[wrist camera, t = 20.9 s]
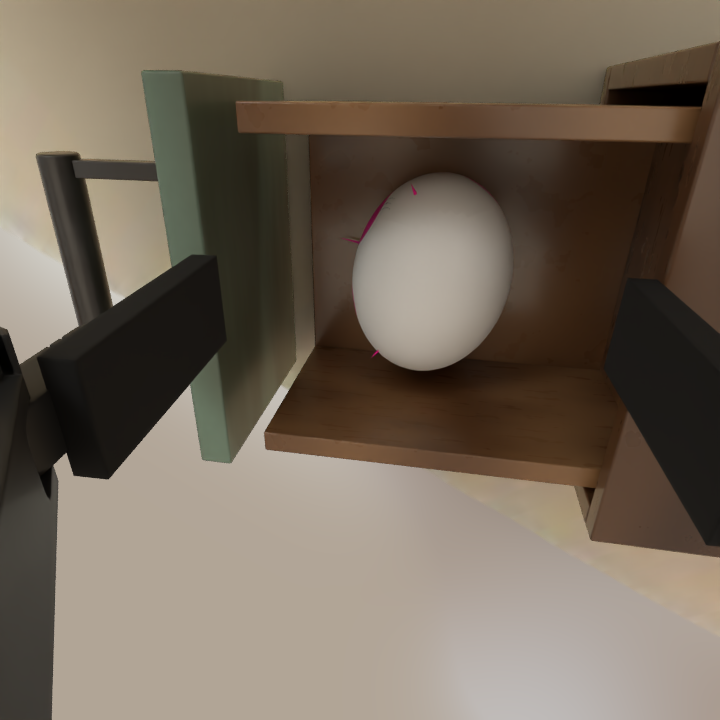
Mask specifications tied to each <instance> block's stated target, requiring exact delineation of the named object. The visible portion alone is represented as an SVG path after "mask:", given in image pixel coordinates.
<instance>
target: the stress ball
mask: <svg viewBox="0 0 720 720" xmlns="http://www.w3.org/2000/svg"><path fill="white" fill-rule="evenodd" d="M342 239H344V238H342ZM345 240H348V241H352V242H355V243H358V244H359V245H358V248H357V252H356V256H355V260H354V266H353V276H352V292H353V301H354V307H355V311H356V315H357V318H358V321H359V323H360V326H361V328H362V330H363V332H364V334H365V336H366V337H367V339H368V340H369V342H370V343H371V345H372V346H373V347H374V348H375V349H376V350H377V351H376V352H375V354H377V353H378V352H379V353H380V354H381V355H382V356H383V357H384V358H386V359H387V360H389V361H390V362H392V363H394V364H396V365H398V366H400V367H404V368H407V369H410V370H418V371H429V370H436V369H440V368H444V367H447V366H449V365H452V364H454V363H456V362H458V361H460V360H461V359H463V358H464V357H466V356H467V355H468V354H470V353H471V352H472V351H473V350H475V349H476V348H477V347H478V346H479V345H480V344H481V343H482V342H483V341H484V339H485V338H486V337H487V336H488V334H489V333H490V332H491V330H492V329H493V327H494V326H495V324H496V323H497V321H498V319H499V317H500V315H501V313H502V311H503V308H504V306H505V303H506V301H507V297H508V294H509V290H510V286H511V281H512V275H513V261H514V255H513V244H512V238H511V233H510V229H509V226H508V223H507V220H506V218H505V215H504V213H503V211H502V209H501V207H500V206H499V204H498V203H497V201H496V200H495V199H494V198H493V196H492V195H491V194H490V193H489V192H488V191H487V190H486V189H485V188H484V187H483V186H481V185H480V184H478V183H477V182H475V181H474V180H472V179H470V178H468V177H465V176H463V175H459V174H455V173H449V172H439V173H430V174H426V175H422V176H419V177H416V178H414V179H412V180H410V181H408V182H406V183H404V184H403V185H401V186H400V187H399V188H397V189H396V190H395V191H393V192H392V193H391V194H390V195H389V196H388V197H387V198H386V199H385V200H384V201H383V202H382V203H381V204H380V206H379V207H378V208H377V210H376V211H375V212H374V214H373V215H372V217H371V219H370V220H369V222H368V224H367V226H366V228H365V230H364V232H363V234H362V236H361V239H360V242H359V241H354V240H349V239H345ZM375 354H374V355H375ZM374 355H373V356H374ZM373 356H372V357H373Z"/></svg>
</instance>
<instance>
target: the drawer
mask: <svg viewBox="0 0 720 720" xmlns="http://www.w3.org/2000/svg"><path fill="white" fill-rule="evenodd" d="M141 75H142V81H143V88H144V94H145V100H146V107H147V113H148V119H149V126H150V132H151V138H152V145H153V151H154V158H155V161H135V160H104V159H81V157H80V154H79V153H77V152H71V151H55V152H42V153H38V154H36V160H37V163H38V167H39V171H40V175H41V179H42V183H43V187H44V191H45V195H46V199H47V203H48V207H49V211H50V215H51V219H52V222H53V226H54V230H55V234H56V238H57V242H58V246H59V250H60V254H61V258H62V262H63V266H64V270H65V274H66V278H67V281H68V285H69V289H70V293H71V297H72V301H73V305H74V309H75V313H76V317H77V320H78V325H79V326H82V325H84V324H87V323H89V322H90V321H92V320H93V319H95V318H96V317H98V316H99V315H101V314H102V313H104V312H105V311H107V310H108V309H110V308H111V307H113V304H112V299H111V295H110V290H109V286H108V281H107V276H106V272H105V267H104V263H103V258H102V253H101V249H100V244H99V240H98V235H97V230H96V226H95V221H94V217H93V212H92V208H91V203H90V198H89V194H88V189H87V185H86V180H85V178H86V179H112V180H138V181H158V183H159V189H160V196H161V202H162V208H163V215H164V221H165V227H166V234H167V240H168V246H169V253H170V259H171V265H172V267H173V266H175V265H176V264H178V263H179V262H181V261H182V260H184V259H185V258H187V257H189V256H190V255H192V254H195V255H213V256H217V262H218V270H219V279H220V287H221V295H222V304H223V312H224V320H225V329H226V337H227V341H226V342H225V344H224V345H223V346H222V347H221V348H220V349H219V351H218V352H217V353H216V354H215V355H214V356H213V358H212V359H211V360H210V361H209V362H208V363H207V365H206V366H205V367H204V368H203V369H202V370H201V372H200V373H199V374H198V375H197V376H196V378H195V379H194V380H193V381H192V382H191V383H190V386H191V393H192V399H193V405H194V412H195V417H196V424H197V431H198V437H199V443H200V450H201V456H202V459H203V460H206V461H214V462H222V463H232V461H233V459H234V458H235V456H236V455H237V453H238V452H239V450H240V449H241V447H242V445H243V444H244V442H245V441H246V439H247V437H248V436H249V434H250V433H251V431H252V429H253V428H254V426H255V425H256V423H257V421H258V420H259V418H260V416H261V415H262V414H263V412H264V410H265V409H266V407H267V406H268V404H269V403H270V401H271V399H272V398H273V396H274V394H275V393H276V391H277V390H278V388H279V387H280V385H281V384H282V382H283V380H284V379H285V377H286V376H287V374H288V373H289V371H290V369H291V368H292V366H293V365H294V363H295V362H296V342H295V322H294V302H293V282H292V262H291V242H290V221H289V201H288V181H287V161H286V141H285V134H296V135H309V159H310V191H311V224H312V256H313V289H314V321H315V347H314V349H313V351H312V352H311V354H310V356H309V357H308V359H307V361H306V362H305V364H304V366H303V368H302V369H301V371H300V373H299V374H298V376H297V378H296V379H295V381H294V383H293V384H292V386H291V388H290V390H289V391H288V393H287V395H286V396H285V398H284V400H283V401H282V403H281V405H280V406H279V408H278V410H277V411H276V413H275V415H274V417H273V418H272V420H271V422H270V424H269V425H268V427H267V429H266V430H265V432H264V436H265V447H266V449H267V450H274V451H283V452H292V453H300V454H309V455H317V456H326V457H334V458H343V459H351V460H359V461H368V462H377V463H385V464H394V465H402V466H410V467H419V468H427V469H436V470H444V471H453V472H461V473H470V474H478V475H487V476H495V477H504V478H513V479H521V480H530V481H538V482H547V483H555V484H564V485H572V486H581V487H589V488H596V485H597V481H598V478H599V474H600V471H601V467H602V463H603V460H604V456H605V453H606V449H607V445H608V442H609V438H610V435H611V431H612V427H613V424H614V420H615V417H616V413H617V409H618V406H619V402H620V399H621V398H620V396H619V395H618V393H617V391H616V389H615V388H614V386H613V384H612V383H611V381H610V379H609V377H608V376H607V374H606V372H605V371H604V369H603V368H604V364H605V361H606V357H607V353H608V349H609V346H610V342H611V338H612V334H613V330H614V327H615V323H616V319H617V315H618V312H619V308H620V304H621V300H622V297H623V293H624V289H625V285H626V281H627V278H638V279H654V276H655V273H656V269H657V265H658V262H659V258H660V255H661V251H662V248H663V244H664V240H665V237H666V233H667V230H668V226H669V222H670V219H671V215H672V212H673V208H674V204H675V201H676V197H677V194H678V190H679V186H680V183H681V179H682V176H683V172H684V168H685V165H686V161H687V158H688V154H689V150H690V147H691V143H692V140H693V136H694V132H695V129H696V125H697V122H698V118H699V114H700V111H701V107H702V106H679V105H603V104H526V103H450V102H373V101H283V83H282V82H281V81H274V80H265V79H255V78H246V77H237V76H228V75H219V74H209V73H200V72H191V71H182V70H143V71H142V72H141ZM439 172H449V173H455V174H459V175H463V176H465V177H468V178H470V179H472V180H474V181H475V182H477V183H478V184H480V185H481V186H483V187H484V188H485V189H486V190H487V191H488V192H489V193H490V194H491V195H492V196H493V198H494V199H495V200H496V201H497V203H498V204H499V206H500V207H501V209H502V211H503V213H504V215H505V218H506V220H507V223H508V226H509V229H510V233H511V238H512V244H513V255H514V261H513V275H512V281H511V286H510V290H509V294H508V297H507V301H506V303H505V306H504V308H503V311H502V313H501V315H500V317H499V319H498V321H497V323H496V324H495V326H494V327H493V329H492V330H491V332H490V333H489V334H488V336H487V337H486V338H485V339H484V341H483V342H482V343H481V344H480V345H479V346H478V347H477V348H476V349H475V350H473V351H472V352H471V353H470V354H468V355H467V356H466V357H464V358H463V359H461V360H460V361H458V362H456V363H454V364H452V365H449V366H447V367H444V368H440V369H436V370H429V371H418V370H410V369H407V368H404V367H400V366H398V365H396V364H394V363H392V362H390V361H389V360H387V359H386V358H384V357H383V356H382V355H381V354H380V353H379V352H378V353H377V354H375V352H376V351H377V350H376V349H375V348H374V347H373V346H372V345H371V343H370V342H369V340H368V339H367V337H366V336H365V334H364V332H363V330H362V328H361V326H360V323H359V321H358V318H357V315H356V311H355V307H354V301H353V292H352V276H353V266H354V260H355V256H356V252H357V248H358V245H359V244H358V243H355V242H352V241H348V240H345V239H349V240H354V241H359V242H360V239H361V236H362V234H363V232H364V230H365V228H366V226H367V224H368V222H369V220H370V219H371V217H372V215H373V214H374V212H375V211H376V210H377V208H378V207H379V206H380V204H381V203H382V202H383V201H384V200H385V199H386V198H387V197H388V196H389V195H390V194H391V193H392V192H393V191H395V190H396V189H397V188H399V187H400V186H401V185H403V184H404V183H406V182H408V181H410V180H412V179H414V178H416V177H419V176H422V175H426V174H430V173H439ZM342 238H344V239H342ZM374 354H375V355H374ZM373 355H374V356H373ZM372 356H373V357H372Z"/></svg>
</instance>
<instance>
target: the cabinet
mask: <svg viewBox="0 0 720 720" xmlns="http://www.w3.org/2000/svg"><path fill="white" fill-rule="evenodd" d="M600 104H603V105H679V106H702V107H701V111H700V114H699V118H698V122H697V125H696V129H695V132H694V136H693V140H692V143H691V147H690V150H689V154H688V158H687V161H686V165H685V168H684V172H683V176H682V179H681V183H680V186H679V190H678V194H677V197H676V201H675V204H674V208H673V212H672V215H671V219H670V222H669V226H668V230H667V233H666V237H665V240H664V244H663V248H662V251H661V255H660V258H659V262H658V265H657V269H656V273H655V276H654V279H657V280H659V281H660V282H661V283H662V284H663V285H665V286H666V287H667V288H668V289H669V290H670V291H671V292H673V293H674V294H675V295H676V296H677V297H678V298H679V299H681V300H682V301H683V302H684V303H685V304H686V305H687V306H689V307H690V308H691V309H692V310H693V311H694V312H695V313H697V314H698V315H699V316H700V317H701V318H702V319H703V320H705V321H706V322H707V323H708V324H709V325H710V326H711V327H712V328H714V329H715V330H716V331H717V332H718V333H719V334H720V41H719V42H714V43H710V44H706V45H701V46H697V47H692V48H688V49H684V50H679V51H675V52H671V53H666V54H662V55H658V56H653V57H649V58H644V59H640V60H636V61H631V62H627V63H623V64H618V65H614V66H610V67H608V68H607V70H606V75H605V80H604V85H603V90H602V95H601V100H600ZM574 487H575V490H576V494H577V497H578V500H579V504H580V507H581V510H582V514H583V517H584V521H585V523H586V527H587V530H588V534H589V537H590V540H592V541H598V542H606V543H613V544H621V545H628V546H636V547H644V548H651V549H659V550H666V551H674V552H681V553H689V554H697V555H704V556H712V557H719V558H720V547H718V546H708V545H706V544H705V542H704V540H703V539H702V537H701V535H700V534H699V532H698V530H697V528H696V527H695V525H694V523H693V522H692V520H691V518H690V516H689V515H688V513H687V511H686V510H685V508H684V506H683V504H682V503H681V501H680V499H679V498H678V496H677V494H676V492H675V491H674V489H673V487H672V486H671V484H670V482H669V480H668V479H667V477H666V475H665V474H664V472H663V470H662V468H661V467H660V465H659V463H658V462H657V460H656V458H655V456H654V455H653V453H652V451H651V449H650V448H649V446H648V444H647V443H646V441H645V439H644V437H643V436H642V434H641V432H640V431H639V429H638V427H637V425H636V424H635V422H634V420H633V419H632V417H631V415H630V413H629V412H628V410H627V408H626V407H625V405H624V403H623V401H622V400H621V399H620V402H619V406H618V409H617V413H616V417H615V420H614V424H613V427H612V431H611V435H610V438H609V442H608V445H607V449H606V453H605V456H604V460H603V463H602V467H601V471H600V474H599V478H598V481H597V485H596V488H589V487H581V486H574Z"/></svg>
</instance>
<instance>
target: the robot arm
mask: <svg viewBox="0 0 720 720" xmlns="http://www.w3.org/2000/svg"><path fill="white" fill-rule="evenodd" d="M226 341H227V337H226V329H225V320H224V312H223V304H222V295H221V287H220V279H219V270H218V262H217V256H213V255H195V254H192V255H190V256H189V257H187V258H185V259H184V260H182V261H181V262H179V263H178V264H176V265H175V266H173V267H172V268H170V269H169V270H167V271H166V272H164V273H163V274H161V275H160V276H158V277H157V278H155V279H154V280H152V281H151V282H149V283H148V284H146V285H145V286H143V287H142V288H140V289H139V290H137V291H136V292H134V293H133V294H131V295H130V296H128V297H127V298H125V299H123V300H122V301H121V302H119V303H117V304H116V305H114V306H113V307H111V308H110V309H108V310H107V311H105V312H104V313H102V314H101V315H99V316H98V317H96V318H95V319H93V320H92V321H90V322H89V323H87V324H84V325H82V326H79V327H77V328H75V329H74V330H72V331H70V332H69V333H67V334H66V335H64V336H63V337H62V339H58V340H57V341H55V342H54V343H52V344H51V345H50V347H46V348H44V349H43V350H41V351H40V352H38V353H37V354H35V355H34V356H32V357H31V358H29V359H28V360H26V361H25V362H23V363H21V364H20V365H19V363H18V360H17V356H16V353H15V350H14V347H13V344H12V342H11V338H10V336H9V333H8V330H7V329H4V328H1V327H0V720H52V684H53V648H54V615H55V580H56V545H57V544H56V543H57V541H56V540H57V509H58V478H57V475H56V472H55V469H54V467H53V465H54V464H55V463H56V462H57V461H58V460H59V459H60V458H61V457H62V456H63V455H64V454H65V453H67V456H68V459H69V462H70V465H71V468H72V472H73V475H74V476H81V477H91V478H100V479H109V478H110V477H111V476H112V475H113V474H114V472H115V471H116V470H117V469H118V467H119V466H120V465H121V464H122V463H123V462H124V461H125V459H126V458H127V457H128V456H129V455H130V454H131V452H132V451H133V450H134V449H135V448H136V447H137V445H138V444H139V443H140V442H141V441H142V440H143V438H144V437H145V436H146V435H147V434H148V433H149V431H150V430H151V429H152V428H153V427H154V425H155V424H156V423H157V422H158V421H159V420H160V419H161V417H162V416H163V415H164V414H165V413H166V411H167V410H168V409H169V408H170V407H171V406H172V404H173V403H174V402H175V401H176V400H177V399H178V397H179V396H180V395H181V394H182V393H183V392H184V390H185V389H186V388H187V387H188V386H189V385H190V383H191V382H192V381H193V380H194V379H195V378H196V376H197V375H198V374H199V373H200V372H201V370H202V369H203V368H204V367H205V366H206V365H207V363H208V362H209V361H210V360H211V359H212V358H213V356H214V355H215V354H216V353H217V352H218V351H219V349H220V348H221V347H222V346H223V345H224V344H225V342H226ZM603 369H604V371H605V372H606V374H607V376H608V377H609V379H610V381H611V383H612V384H613V386H614V388H615V389H616V391H617V393H618V395H619V396H620V398H621V400H622V401H623V403H624V405H625V407H626V408H627V410H628V412H629V413H630V415H631V417H632V419H633V420H634V422H635V424H636V425H637V427H638V429H639V431H640V432H641V434H642V436H643V437H644V439H645V441H646V443H647V444H648V446H649V448H650V449H651V451H652V453H653V455H654V456H655V458H656V460H657V462H658V463H659V465H660V467H661V468H662V470H663V472H664V474H665V475H666V477H667V479H668V480H669V482H670V484H671V486H672V487H673V489H674V491H675V492H676V494H677V496H678V498H679V499H680V501H681V503H682V504H683V506H684V508H685V510H686V511H687V513H688V515H689V516H690V518H691V520H692V522H693V523H694V525H695V527H696V528H697V530H698V532H699V534H700V535H701V537H702V539H703V540H704V542H705V544H706V545H708V546H718V547H720V334H719V333H718V332H717V331H716V330H715V329H714V328H712V327H711V326H710V325H709V324H708V323H707V322H706V321H705V320H703V319H702V318H701V317H700V316H699V315H698V314H697V313H695V312H694V311H693V310H692V309H691V308H690V307H689V306H687V305H686V304H685V303H684V302H683V301H682V300H681V299H679V298H678V297H677V296H676V295H675V294H674V293H673V292H671V291H670V290H669V289H668V288H667V287H666V286H665V285H663V284H662V283H661V282H660V281H659V280H657V279H638V278H627V281H626V285H625V289H624V293H623V297H622V300H621V304H620V308H619V312H618V315H617V319H616V323H615V327H614V330H613V334H612V338H611V342H610V346H609V349H608V353H607V357H606V361H605V364H604V368H603Z"/></svg>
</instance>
